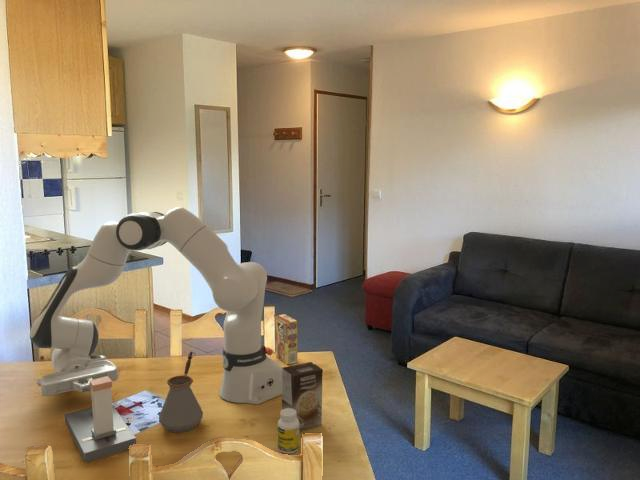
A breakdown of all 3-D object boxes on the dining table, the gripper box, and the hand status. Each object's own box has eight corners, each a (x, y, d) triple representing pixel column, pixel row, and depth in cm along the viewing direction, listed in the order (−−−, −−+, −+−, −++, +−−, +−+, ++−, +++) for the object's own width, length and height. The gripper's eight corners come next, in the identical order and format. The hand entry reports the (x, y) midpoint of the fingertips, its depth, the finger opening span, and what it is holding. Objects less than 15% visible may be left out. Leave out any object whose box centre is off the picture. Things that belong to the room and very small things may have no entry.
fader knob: (112, 427, 140) (108, 375, 138) (116, 433, 137) (113, 381, 134) (91, 432, 137) (87, 380, 135) (95, 439, 134) (91, 386, 131)
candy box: (298, 363, 189) (298, 320, 186) (287, 365, 186) (287, 322, 184) (285, 354, 196) (285, 313, 193) (274, 357, 194) (274, 315, 191)
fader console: (111, 410, 154) (110, 401, 154) (136, 447, 136) (135, 437, 135) (65, 422, 148) (64, 413, 147) (85, 463, 129) (84, 452, 129)
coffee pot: (198, 436, 141) (196, 382, 138) (153, 436, 141) (151, 381, 138) (213, 398, 162) (211, 350, 159) (174, 398, 162) (172, 350, 159)
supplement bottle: (273, 451, 135) (273, 414, 133) (283, 440, 140) (283, 404, 138) (294, 456, 133) (294, 418, 131) (302, 445, 138) (302, 408, 136)
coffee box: (292, 434, 143) (292, 376, 140) (281, 423, 148) (280, 367, 145) (322, 425, 147) (323, 369, 144) (310, 415, 153) (310, 360, 150)
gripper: (34, 369, 154) (43, 387, 143) (109, 354, 166) (123, 369, 155) (36, 390, 155) (45, 410, 144) (110, 373, 167) (124, 390, 156)
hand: (86, 389), depth 149 cm, fingers closed
